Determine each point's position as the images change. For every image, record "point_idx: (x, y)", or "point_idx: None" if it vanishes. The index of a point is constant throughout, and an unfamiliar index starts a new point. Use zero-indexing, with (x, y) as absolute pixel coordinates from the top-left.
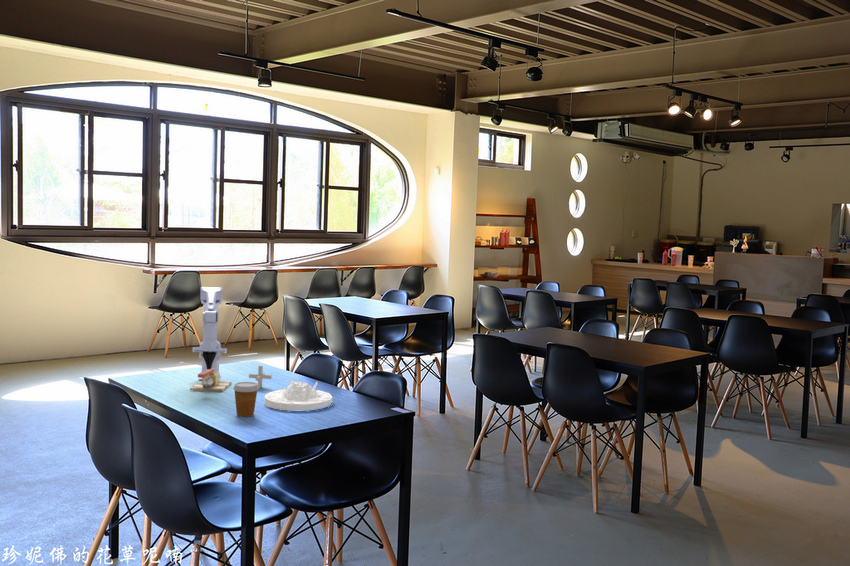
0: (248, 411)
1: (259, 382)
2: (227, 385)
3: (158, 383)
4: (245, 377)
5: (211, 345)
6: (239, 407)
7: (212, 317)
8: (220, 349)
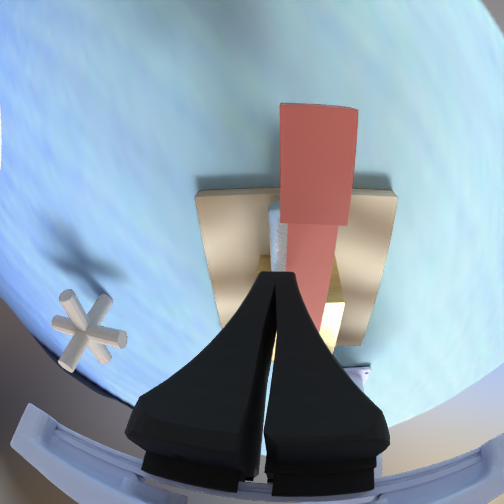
0: None
1: (94, 308)
2: (214, 293)
3: (496, 298)
4: None
5: None
6: None
7: None
8: (42, 470)
